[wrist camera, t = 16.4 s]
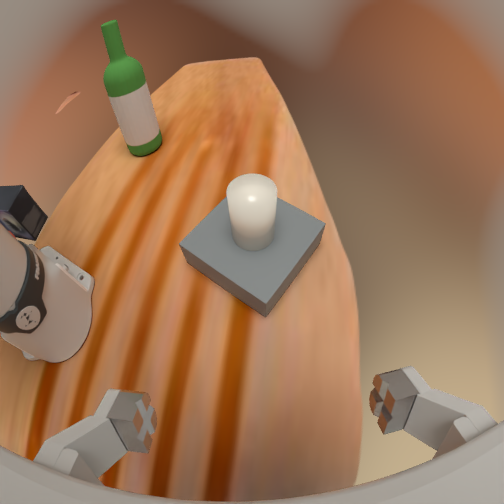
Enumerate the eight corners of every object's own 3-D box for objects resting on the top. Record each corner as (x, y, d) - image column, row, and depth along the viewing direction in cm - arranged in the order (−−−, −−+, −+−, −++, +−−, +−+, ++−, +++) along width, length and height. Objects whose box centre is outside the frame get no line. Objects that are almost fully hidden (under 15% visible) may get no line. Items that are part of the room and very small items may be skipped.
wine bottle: (163, 132, 59) (133, 12, 33) (163, 152, 55) (126, 18, 29) (131, 141, 58) (93, 25, 33) (128, 161, 55) (81, 35, 29)
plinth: (187, 262, 42) (178, 243, 37) (245, 201, 47) (243, 180, 43) (265, 317, 37) (266, 303, 33) (319, 243, 43) (325, 223, 38)
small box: (9, 238, 46) (-17, 209, 37) (22, 214, 49) (-2, 185, 40) (35, 242, 45) (6, 211, 36) (49, 216, 48) (23, 183, 39)
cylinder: (223, 236, 38) (216, 195, 31) (249, 210, 40) (247, 167, 33) (257, 258, 36) (256, 218, 29) (282, 229, 38) (287, 187, 31)
